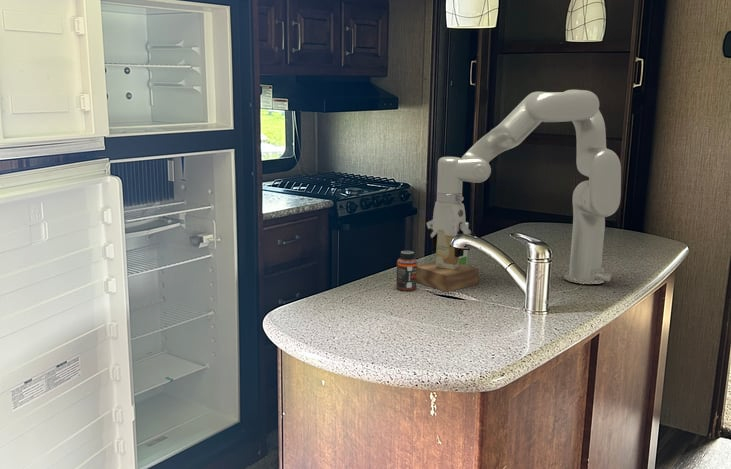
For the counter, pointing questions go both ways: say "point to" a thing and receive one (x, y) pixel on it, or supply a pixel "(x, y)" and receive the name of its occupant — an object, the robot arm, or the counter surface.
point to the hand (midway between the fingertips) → (447, 253)
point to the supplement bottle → (406, 271)
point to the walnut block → (447, 276)
